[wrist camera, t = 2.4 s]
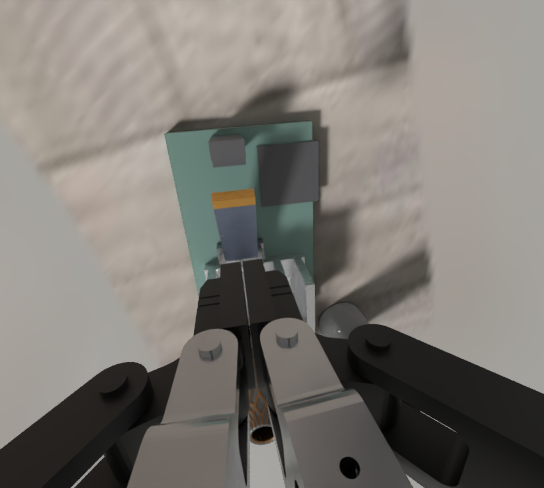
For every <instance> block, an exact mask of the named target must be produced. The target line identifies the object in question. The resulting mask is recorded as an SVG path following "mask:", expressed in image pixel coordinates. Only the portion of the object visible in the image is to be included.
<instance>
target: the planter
mask: <svg viewBox="0 0 544 488" xmlns="http://www.w3.org/2000/svg"><path fill="white" fill-rule="evenodd" d="M365 324H369V323H368V321H367V320H366V318H365V317H364V315H363V314H362V313H361V311H360V310H359V309H358V308H357V307H356V306H355V305H353V304H350V303H338V304H335V305H333V306H331V307H329V308H328V309H326V310H325V311H324V313H323V314H322V315H321V317H320V319H319V329H320V332H321V335H322V336H325V337H331V338H342V339H348V336H349V334H350V332H351V331H352V330H353V329H355V328H356V327H358V326H361V325H365ZM402 401H403V400H402ZM403 402H404V401H403ZM404 403H406V402H404ZM406 404H408V403H406ZM408 405H410V404H408ZM410 406H411V405H410ZM411 407H413V406H411ZM413 408H415V407H413ZM415 409H416V408H415ZM417 410H418V409H417ZM418 411H420V410H418Z"/></svg>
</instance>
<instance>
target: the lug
mask: <svg viewBox="0 0 544 488" xmlns="http://www.w3.org/2000/svg"><path fill="white" fill-rule="evenodd" d="M208 144H209V151H210V157H211V161H212V164H213V168H216V167H226V166H237V165H246V151H245V141H244V138H243V136H242V135H241V134H231V135H219V136H211V138H210V140H209V142H208Z"/></svg>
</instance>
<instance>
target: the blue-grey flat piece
mask: <svg viewBox="0 0 544 488" xmlns="http://www.w3.org/2000/svg"><path fill="white" fill-rule="evenodd" d="M211 195H212V205H213V209H214V213H215V218H216V222H217V227H218V231H219V236H220V240H221V245H222V249H223V253H220V254H219V261H220V265H221V264H226V263H233V262H241V267H243V263H242V261H248V260H255V259H262V261H263V264H264V256H263V250H262V248H259V249H258V244H257V223H256V203H255V193H254V189H244V190H235V191H225V192H216V193H211Z"/></svg>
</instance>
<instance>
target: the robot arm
mask: <svg viewBox="0 0 544 488" xmlns="http://www.w3.org/2000/svg"><path fill="white" fill-rule="evenodd" d="M242 263H243V271H244V280H245V288H246V296H247V305H248V313H249V321H250V329H251V337H252V344H253V352H254V360H255V367H256V375H257V383H258V388H262V387H265V390H266V396H267V404H268V412H269V418H270V422H271V426H272V431H273V435H274V439H275V444H276V448H277V452H278V456H279V461H280V465H281V470H282V474H283V478H284V483H285V487H286V488H413V486H412V485H411V483H410V481H409V480H408V478H407V476H406V474H407V475H408V476H409V477H411V478H412V479H413V480H415V481H416V482H417V483H419V484H420V485H421V486H423V487H424V488H544V394H543V393H540V392H538V391H536V390H533V389H531V388H529V387H526V386H524V385H521V384H519V383H517V382H515V381H512V380H510V379H508V378H505V377H503V376H501V375H498V374H496V373H494V372H491V371H489V370H487V369H485V368H482V367H480V366H478V365H475V364H473V363H471V362H468V361H466V360H464V359H461V358H459V357H457V356H454V355H452V354H450V353H447V352H445V351H443V350H440V349H438V348H436V347H433V346H431V345H429V344H426V343H424V342H422V341H420V340H417V339H415V338H413V337H410V336H408V335H406V334H403V333H401V332H399V331H396V330H394V329H392V328H389V327H387V326H383V325H378V324H365V325H361V326H358V327H356V328H355V329H353V330H352V331H351V332H350V334H349V336H348V339H342V338H331V337H325V336H322V335H319V334H317V333H315V332H314V331H313V329H312V328H311V327H310V326H309V325H308V324H307V323H306V322H304V321H303V319H302V316H301V313H300V311H299V308H298V306H297V303H296V300H295V298H294V295H293V293H292V290H291V287H290V284H289V282H288V279H287V277H286V276H285V275H284V274H283V273H281V272H280V271H279V270H273V271H266V272H265V269H264V265H263V261H262V259H255V260H248V261H242ZM252 389H256V385H255V376H254V367H253V359H252V350H251V341H250V332H249V324H248V315H247V307H246V299H245V291H244V284H243V276H242V269H241V262H233V263H226V264H221V265H220V278H215V279H208V280H207V281H206V282H205V283H204V284H203V286H202V287H201V288H200V293H199V300H198V308H197V315H196V322H195V329H194V336H193V337H192V338H191V339H190V340H188V342H187V343H186V344H185V345H184V347H183V350H182V353H181V356H180V358H178V359H177V360H175V361H174V362H172V363H170V364H168V365H166V366H163V367H161V368H158V369H157V370H154V371H151V372H149V373H148V372H147V370H146V368H145V367H144V366H143V365H141V364H139V363H135V362H126V363H120V364H116V365H114V366H111V367H109V368H107V369H105V370H103V371H102V372H100V373H99V374H97V375H96V376H95V377H93V378H92V379H91V380H89V381H88V382H87V383H86V384H84V385H83V386H82V387H80V388H79V389H78V390H77V391H75V392H74V393H73V394H71V395H70V396H69V397H67V398H66V399H65V400H64V401H62V402H61V403H60V404H59V405H57V406H56V407H54V408H53V409H52V410H51V411H49V412H48V413H47V414H45V415H44V416H43V417H42V418H40V419H39V420H38V421H36V422H35V423H34V424H33V425H31V426H30V427H29V428H27V429H26V430H25V431H24V432H22V433H21V434H20V435H18V436H17V437H16V438H14V439H13V440H12V441H11V442H9V443H8V444H7V445H6V446H4V447H3V448H2V449H0V488H71V487H72V486H73V485H74V484H75V483H76V481H78V480H79V479H80V478H81V477H82V476H83V474H85V473H86V472H87V470H88V469H90V468H91V466H92V465H93V464H94V463H95V462H96V461H97V460H98V459H99V458H100V457H101V456H102V455H104V456H105V457H104V458H103V459H102V460H101V461H100V462H99V463H98V464H97V465H96V466H95V467H94V468H93V469H92V470H91V471H90V472H89V473H88V475H86V476H85V478H84V479H82V480H81V482H80V483H79V484H78V485H77V486H76V487H75V488H250V418H249V408H250V399H249V390H252ZM402 400H403V401H404V402H406V403H408V404H410V405H411V406H413V407H415V408H416V409H415V408H413V407H411V406H410V405H408V404H406V403H404V402H403V401H402ZM417 409H418V410H420V411H422V412H423V413H425V414H427V415H429V416H430V417H432V418H434V419H435V420H438V421H439V422H441V423H442V424H444V425H446V426H448V427H450V428H451V429H453V430H454V431H456V432H457V433H456V432H454V431H453V430H451V429H449V428H448V427H445V426H444V425H442V424H441V423H439V422H437V421H435V420H434V419H432V418H430V417H428V416H427V415H425V414H423V413H422V412H420V411H418V410H417Z"/></svg>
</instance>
